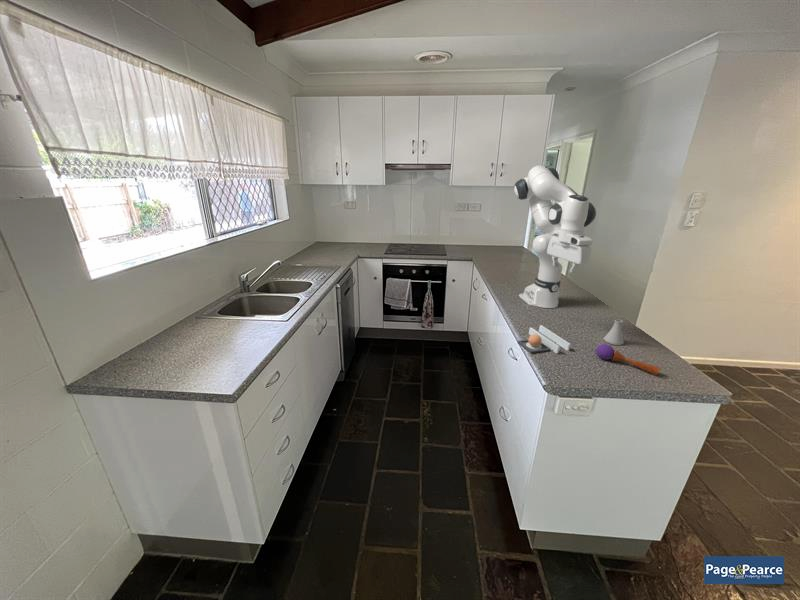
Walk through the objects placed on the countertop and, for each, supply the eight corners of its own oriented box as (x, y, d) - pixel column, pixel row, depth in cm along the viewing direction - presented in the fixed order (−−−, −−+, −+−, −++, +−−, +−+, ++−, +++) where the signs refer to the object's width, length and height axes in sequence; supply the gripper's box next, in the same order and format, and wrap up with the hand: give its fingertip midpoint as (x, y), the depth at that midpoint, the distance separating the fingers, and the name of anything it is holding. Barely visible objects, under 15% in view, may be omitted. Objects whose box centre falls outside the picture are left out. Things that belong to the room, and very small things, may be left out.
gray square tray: (517, 342, 136) (517, 340, 136) (535, 340, 139) (536, 338, 138) (531, 353, 128) (531, 351, 128) (550, 351, 130) (550, 348, 130)
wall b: (528, 333, 145) (529, 327, 144) (530, 333, 145) (531, 327, 144) (556, 353, 128) (558, 347, 127) (558, 353, 129) (559, 346, 128)
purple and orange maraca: (659, 370, 112) (596, 346, 124) (653, 382, 115) (592, 358, 127) (662, 361, 116) (600, 339, 127) (656, 373, 119) (596, 350, 130)
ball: (524, 343, 135) (527, 332, 133) (535, 341, 136) (537, 331, 134) (532, 349, 130) (534, 339, 128) (542, 348, 132) (545, 337, 129)
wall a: (538, 331, 147) (539, 325, 146) (540, 331, 147) (541, 325, 146) (567, 350, 131) (569, 344, 130) (569, 350, 131) (570, 344, 130)
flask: (613, 346, 135) (619, 325, 131) (599, 338, 142) (605, 318, 138) (627, 344, 137) (633, 323, 133) (612, 337, 143) (618, 316, 140)
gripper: (546, 232, 141) (540, 263, 146) (582, 241, 122) (574, 276, 127) (558, 232, 142) (552, 263, 147) (596, 241, 124) (587, 276, 129)
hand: (563, 269), depth 137 cm, fingers open, 8 cm apart
